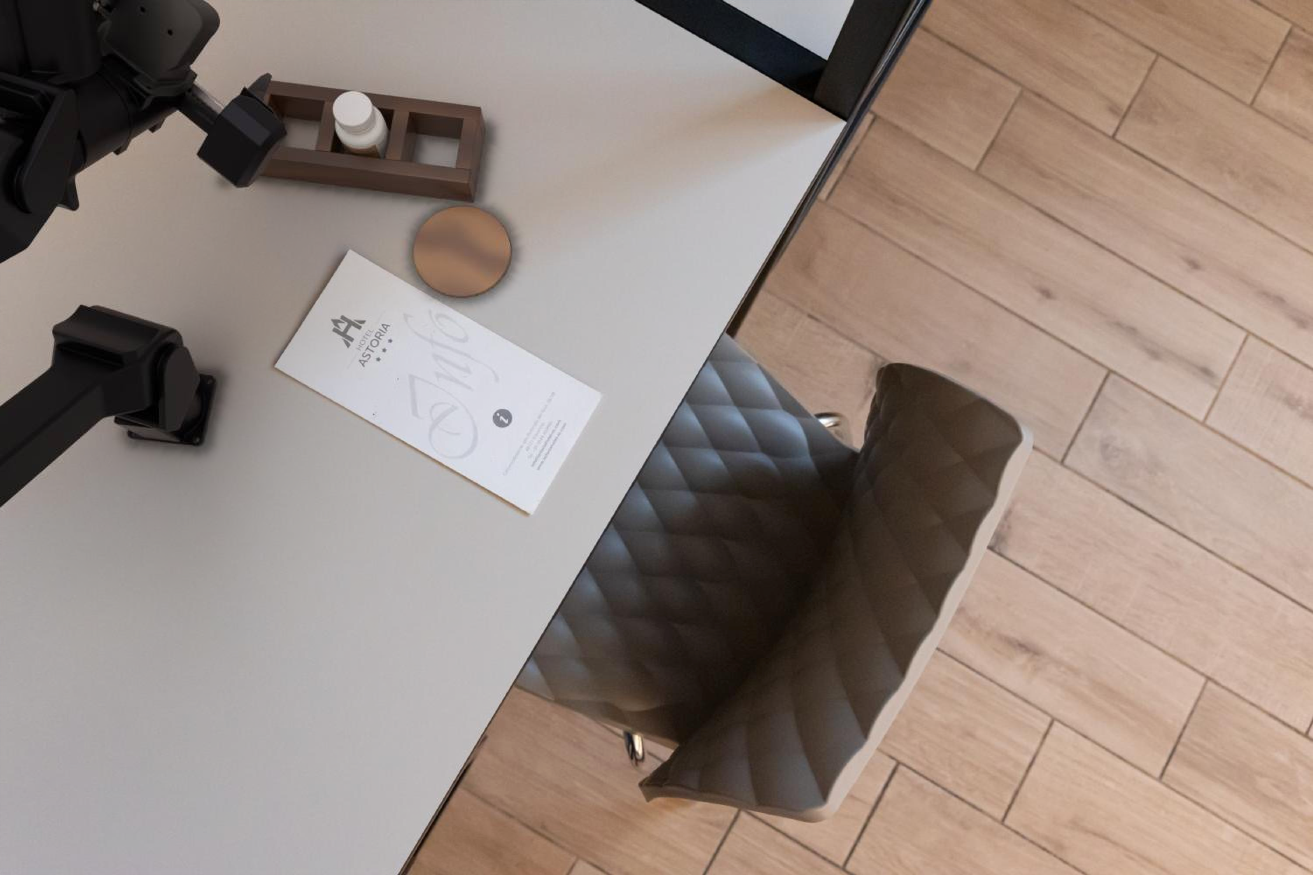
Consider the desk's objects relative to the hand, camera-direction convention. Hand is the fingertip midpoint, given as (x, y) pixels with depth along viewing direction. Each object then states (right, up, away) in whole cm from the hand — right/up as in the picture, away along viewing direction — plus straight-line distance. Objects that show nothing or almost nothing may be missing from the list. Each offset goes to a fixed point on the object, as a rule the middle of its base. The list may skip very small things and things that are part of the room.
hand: (217, 36), depth 77 cm
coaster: (+16, -14, +16) cm, 26 cm away
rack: (+7, -4, +17) cm, 19 cm away
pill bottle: (+7, -4, +17) cm, 19 cm away
